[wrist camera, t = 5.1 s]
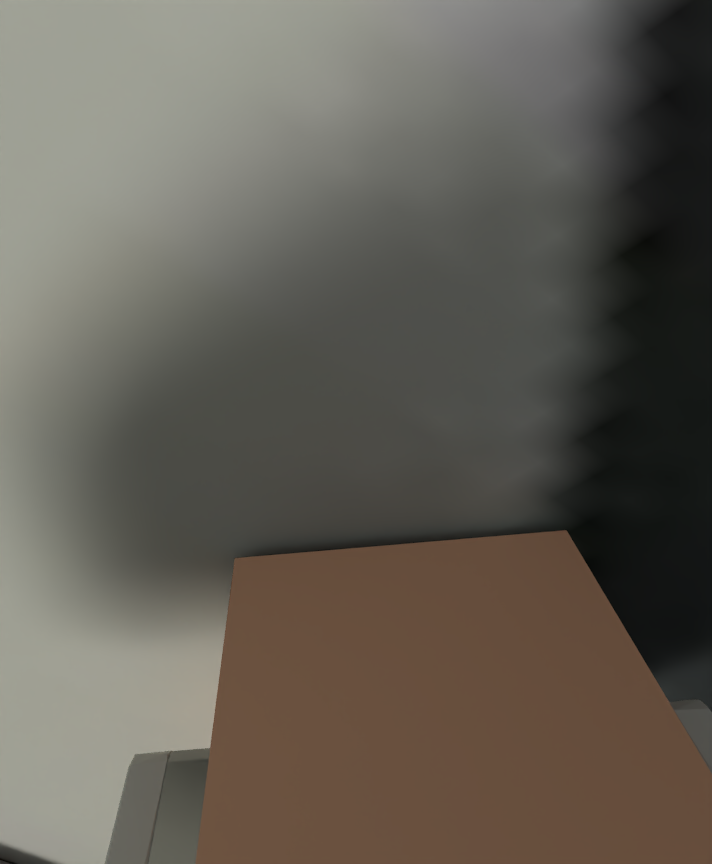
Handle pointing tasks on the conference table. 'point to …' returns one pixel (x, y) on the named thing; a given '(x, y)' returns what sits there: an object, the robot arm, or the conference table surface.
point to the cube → (443, 715)
